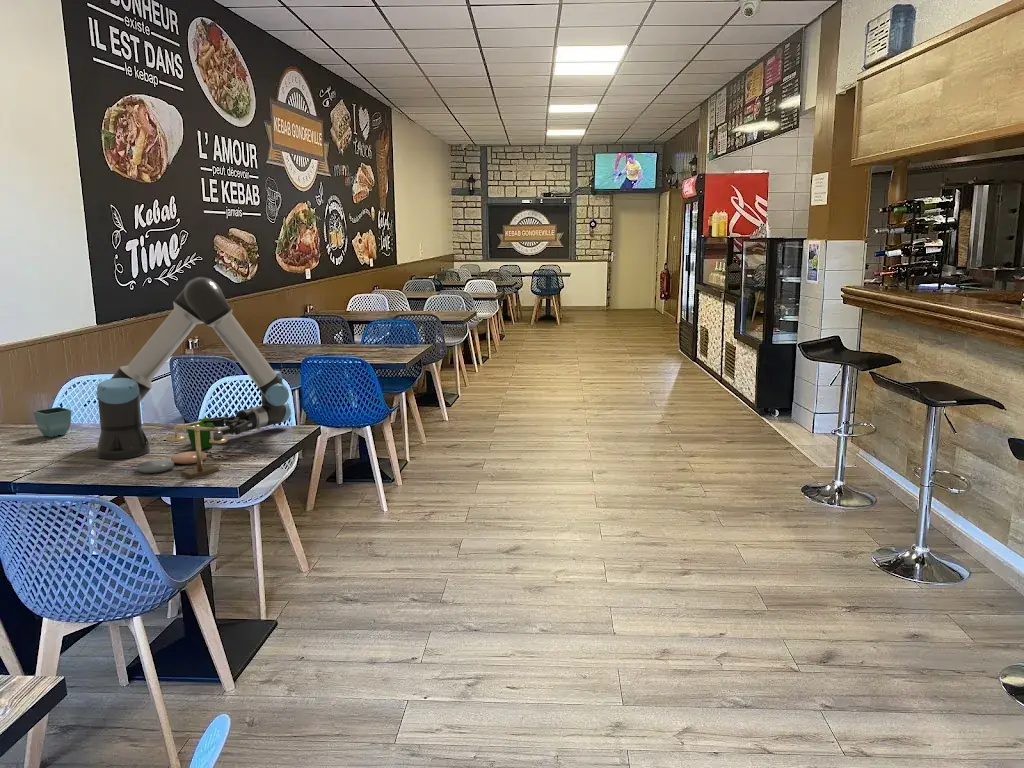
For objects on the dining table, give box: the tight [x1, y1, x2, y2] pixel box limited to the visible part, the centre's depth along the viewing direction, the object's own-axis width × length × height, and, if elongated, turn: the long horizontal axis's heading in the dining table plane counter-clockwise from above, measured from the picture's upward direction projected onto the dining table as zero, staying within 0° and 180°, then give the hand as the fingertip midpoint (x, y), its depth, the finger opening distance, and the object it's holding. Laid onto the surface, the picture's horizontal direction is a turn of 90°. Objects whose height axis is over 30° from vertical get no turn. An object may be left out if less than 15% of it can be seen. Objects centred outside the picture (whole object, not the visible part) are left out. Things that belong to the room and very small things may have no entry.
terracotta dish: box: [170, 450, 207, 465], centre depth 230 cm, size 10×10×2 cm
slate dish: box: [136, 459, 175, 474], centre depth 221 cm, size 10×10×2 cm
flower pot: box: [33, 406, 72, 438], centre depth 259 cm, size 9×9×9 cm
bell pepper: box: [187, 417, 216, 450], centre depth 245 cm, size 8×8×10 cm
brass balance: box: [166, 424, 228, 479], centre depth 217 cm, size 5×18×16 cm, turn 148°
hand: (197, 431), depth 243 cm, fingers open, 13 cm apart
